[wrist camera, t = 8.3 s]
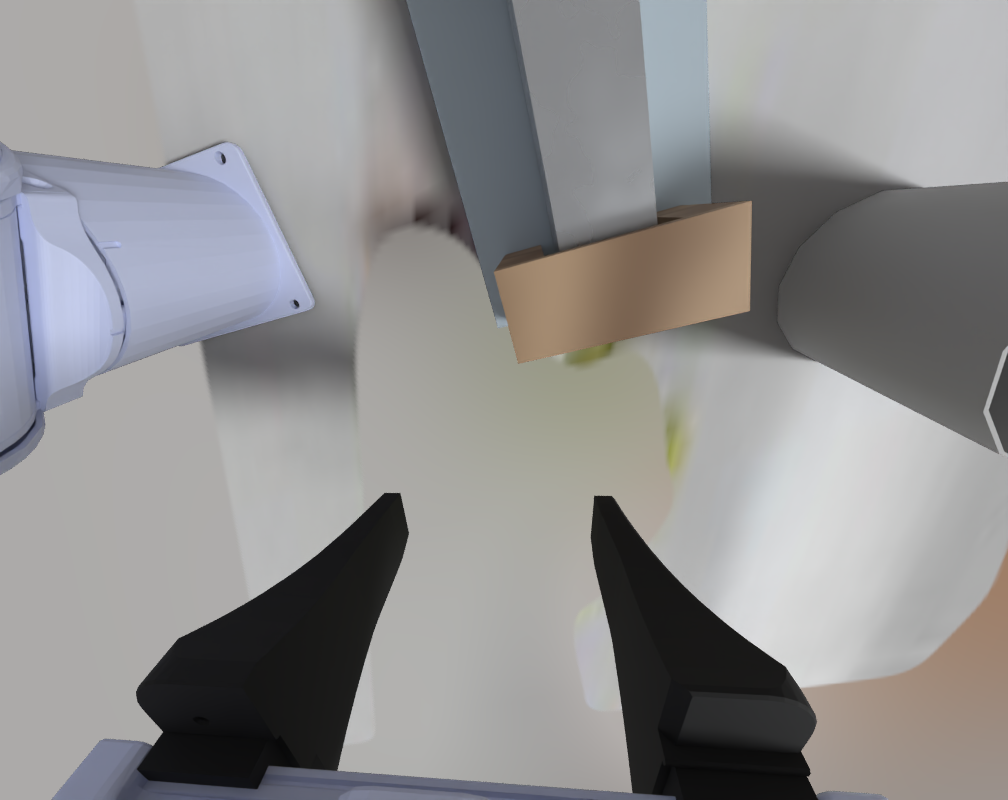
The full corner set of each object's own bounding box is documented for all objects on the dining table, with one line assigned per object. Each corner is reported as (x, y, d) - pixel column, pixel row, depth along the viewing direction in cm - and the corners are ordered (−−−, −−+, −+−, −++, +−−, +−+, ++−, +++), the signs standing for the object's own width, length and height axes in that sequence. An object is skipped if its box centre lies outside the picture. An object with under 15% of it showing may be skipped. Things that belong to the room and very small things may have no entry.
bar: (560, 285, 19) (568, 306, 14) (457, -240, 12) (416, -492, 8) (633, 267, 18) (664, 282, 14) (570, -300, 11) (593, -613, 7)
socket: (522, 322, 20) (518, 363, 14) (505, 254, 18) (493, 271, 13) (684, 282, 18) (749, 311, 13) (679, 205, 17) (751, 200, 11)
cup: (782, 217, 17) (1045, 219, 8) (990, 161, 16) (1574, 93, 7) (774, 377, 21) (955, 498, 12) (944, 344, 19) (1294, 453, 11)
